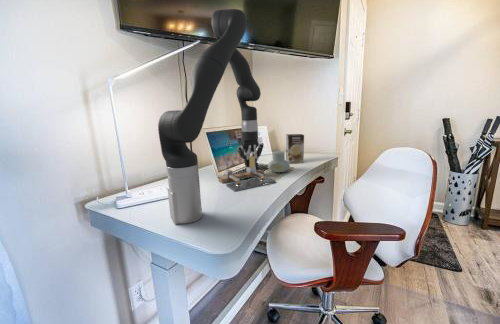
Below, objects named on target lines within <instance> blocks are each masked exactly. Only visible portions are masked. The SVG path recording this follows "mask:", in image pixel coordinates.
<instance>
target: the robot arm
mask: <svg viewBox="0 0 500 324" xmlns="http://www.w3.org/2000/svg"><path fill="white" fill-rule="evenodd" d="M247 22H248V20H247V16H246V14H245V12H244V11H243V10H241V9H237V8H228V9H226V8H225V9H217V10H214V12H213V13H212V16H211V28H212V31H213V34H214V37H215V39H216V41H215V42H214V43H212V44H210V45H209V46H208V47H207V48H206V49H204V50H203V51H202V52H201V53H200V54H199V56H198V57H197V59H196V61H195V63H194V65H193V67H192V69H191V71H190V85H191V93H190V97H189V98H188V101H187V102H186V104H185V106H184V107H183V108H182V110H178V109H177V110H166V111H164V112H163V113H162V114H161V115H160V117H159V120H158V123H157V131H158V132H157V133H158V136H159V137H158V138H159V144H160V150H161V155H162V157H163V160H164V161H165V166H166V174H167V181H168V182H167V183H168V188H167V196H168V203H169V204H168V205H169V214H170V218H171V220H172V222H173V223H174V225H178V224H182V225H183V224H190V223H191V224H192V223H195V222H196V221H199V220H200V219H201V218H202V217H203V208H202V207H203V206H202V198H201V197H202V196H201V185H200V173H199V161H198V159H199V158H198V155H197V153H196V152H194V151H192V150H191V149H190V148H189V147H188V145H187V144H190V143H193V142H194V141H196V139H197V138H198V137H199V136H200V133H201V131H202V129H203V125H204V122H205V120H206V116H207V114H208V110H209V107H210V105H211V102H212V100H213V97H214V96H215V93H216V91H217V88H218V87H219V85H220V83H221V80H222V78H223V76H224V74H225V71H226V69H227V67H228V65H230V68H231V70H232V72H233V76H234V78H235V82H236V84H237V85H238V87H237V89H236V97H237V101H238V103H239V107H240V111H241V126H240V127H241V141H242V142H241V144H240V145H239V146H236V150H237V152H238V154H239V156H240V158H241V159H243V160H244V166H245V168H246V167H249V156H251V155H252V156H255V166H256V165H257V163H258V161H257V157H259V158H260V157H261V156H262V151H263V149H264V144H262V143H259V125H258V111H257V107H255V106H251V105H249V104H248V103H247V102H256V101H258V100H259V99H260V98H261V88H260V86H259V84H258V83H257V82H256V81H255V79H254V76H253V74H252V71H251V65H249V62H248V61H247V58H245V56H244V55H243V54H242V53H241V52H240V50H238V49H237V48H238V46H239V44H240V43H241V41H242V39H243V38H244V36H245V33H246V30H247V26H248V25H247ZM243 150H244V152H243ZM250 152H251V154H250Z"/></svg>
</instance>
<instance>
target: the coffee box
mask: <svg viewBox="0 0 500 324" xmlns="http://www.w3.org/2000/svg"><path fill="white" fill-rule="evenodd" d="M285 136H286V137H285V138H286V139H285V160H286V161H287V162H288V163H289V165H290V164H304V163H305V162H304V161H305V160H304V158H305V157H304V156H305V151H304V150H305V135H304V134H302V133H293V134H290V133H289V134H288V133H287V134H286V135H285Z"/></svg>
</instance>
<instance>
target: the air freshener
mask: <svg viewBox="0 0 500 324" xmlns="http://www.w3.org/2000/svg"><path fill="white" fill-rule="evenodd" d="M290 167H291V166H290V164H289V163H288V162H287V161H286V152H284V151H281V150H280V151H279V150H277V151H273V152H272V160H270V161H269V162H268V164H267V168H268V169H269V170H270V171H271V172H273V173H275V172H282V173H284V172H287V171H288V170H289V168H290Z"/></svg>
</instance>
